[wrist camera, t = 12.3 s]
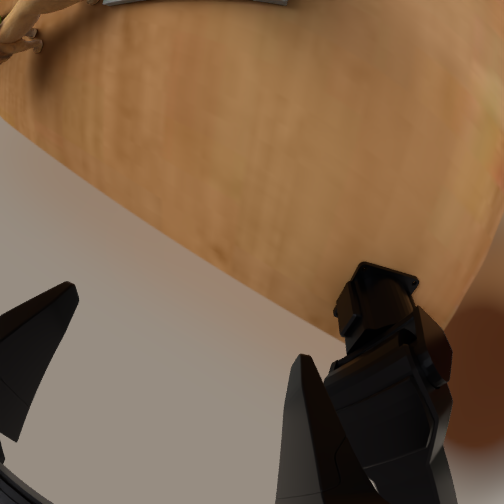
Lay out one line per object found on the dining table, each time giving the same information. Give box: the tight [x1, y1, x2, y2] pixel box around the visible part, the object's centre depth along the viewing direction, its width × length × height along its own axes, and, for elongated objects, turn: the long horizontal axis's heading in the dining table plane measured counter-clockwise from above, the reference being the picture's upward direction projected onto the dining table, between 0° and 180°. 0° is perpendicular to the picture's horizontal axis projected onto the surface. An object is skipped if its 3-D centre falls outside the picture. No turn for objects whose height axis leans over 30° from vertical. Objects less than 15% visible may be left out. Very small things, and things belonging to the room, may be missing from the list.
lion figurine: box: [0, 0, 99, 64], centre depth 8 cm, size 15×5×9 cm, turn 113°
